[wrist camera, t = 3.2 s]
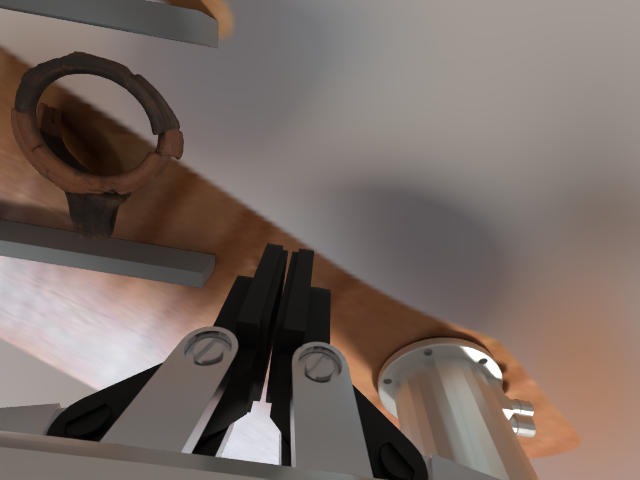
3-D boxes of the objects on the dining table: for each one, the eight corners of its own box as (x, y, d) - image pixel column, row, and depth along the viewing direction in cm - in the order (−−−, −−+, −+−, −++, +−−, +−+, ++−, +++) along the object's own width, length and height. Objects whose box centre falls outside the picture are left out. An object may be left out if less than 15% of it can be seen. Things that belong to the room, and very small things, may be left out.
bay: (217, 21, 20) (191, 6, 16) (215, 269, 28) (197, 295, 25) (-127, -44, 19) (-233, -74, 16) (-25, 229, 28) (-79, 251, 24)
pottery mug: (35, 64, 22) (-31, 14, 15) (181, 90, 26) (185, 61, 19) (52, 230, 24) (2, 257, 17) (182, 229, 28) (187, 251, 21)
